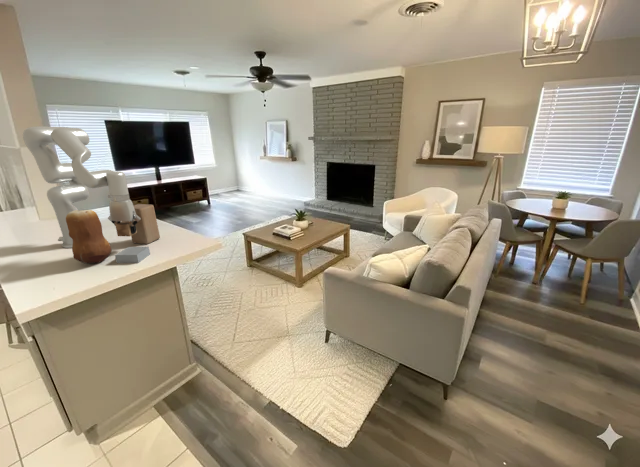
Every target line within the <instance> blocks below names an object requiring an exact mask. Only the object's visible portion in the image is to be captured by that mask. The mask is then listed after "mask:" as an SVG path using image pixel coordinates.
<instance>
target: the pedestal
mask: <svg viewBox="0 0 640 467" xmlns="http://www.w3.org/2000/svg"><path fill="white" fill-rule="evenodd" d="M150 255H151V252H150V247H149V246H128V247H126V248H123V249H122V250H120V251H119V252H117V253H116V254H115V255H114V257H115V261H116V263H117V264H132V263H133V264H138V263H140V262H142V261H143V260H144V259H145V258H147V257H148V256H150Z"/></svg>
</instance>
